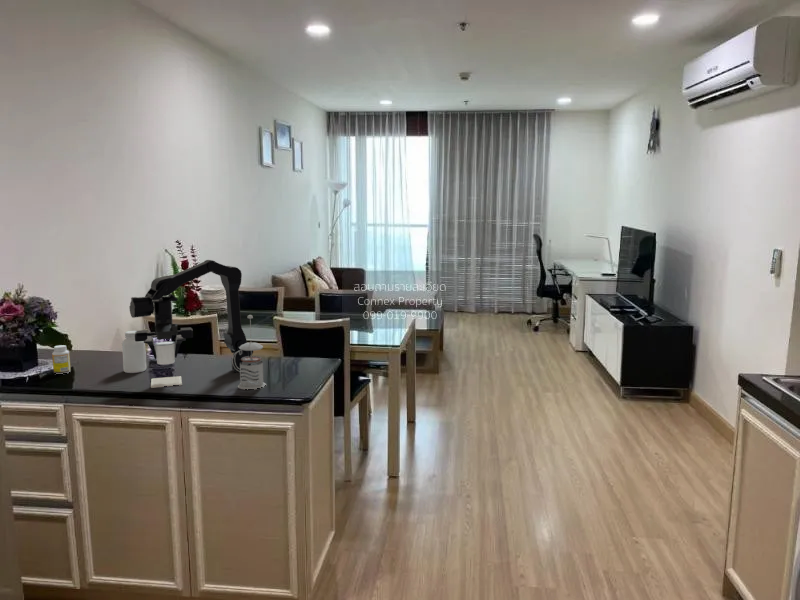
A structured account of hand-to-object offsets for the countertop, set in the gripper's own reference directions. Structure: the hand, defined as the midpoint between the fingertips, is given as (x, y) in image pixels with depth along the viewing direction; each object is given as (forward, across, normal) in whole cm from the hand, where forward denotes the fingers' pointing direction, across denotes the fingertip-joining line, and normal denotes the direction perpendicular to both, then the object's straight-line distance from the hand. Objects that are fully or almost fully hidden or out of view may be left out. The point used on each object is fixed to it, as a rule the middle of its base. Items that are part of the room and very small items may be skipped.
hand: (165, 358), depth 212 cm
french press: (+9, +27, -13) cm, 31 cm away
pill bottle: (+9, -11, +21) cm, 25 cm away
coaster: (+9, 0, 0) cm, 9 cm away
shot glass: (+2, 0, 0) cm, 2 cm away
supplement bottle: (+9, -36, +26) cm, 45 cm away
